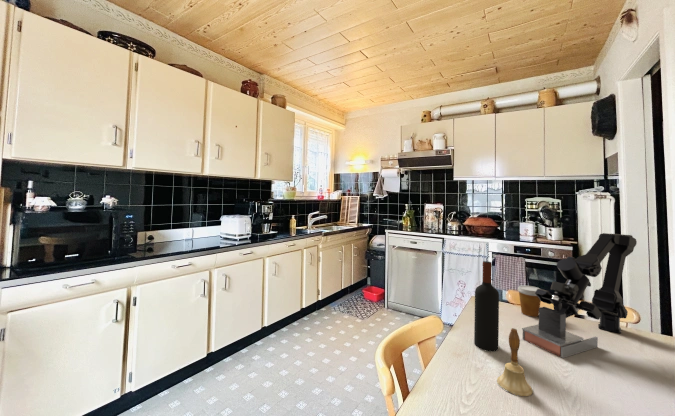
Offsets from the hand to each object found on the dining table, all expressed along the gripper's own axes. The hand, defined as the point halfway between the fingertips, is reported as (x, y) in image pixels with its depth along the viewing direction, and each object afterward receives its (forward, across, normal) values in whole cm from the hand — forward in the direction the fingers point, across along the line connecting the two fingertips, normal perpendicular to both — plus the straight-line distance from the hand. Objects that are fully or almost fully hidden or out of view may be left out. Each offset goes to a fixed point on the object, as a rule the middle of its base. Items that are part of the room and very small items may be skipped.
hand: (555, 321), depth 97 cm
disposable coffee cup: (-7, -21, +20) cm, 30 cm away
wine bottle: (+23, -8, -11) cm, 27 cm away
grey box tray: (+4, 0, +8) cm, 9 cm away
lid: (+4, 0, +2) cm, 5 cm away
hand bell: (+31, +11, -19) cm, 38 cm away
